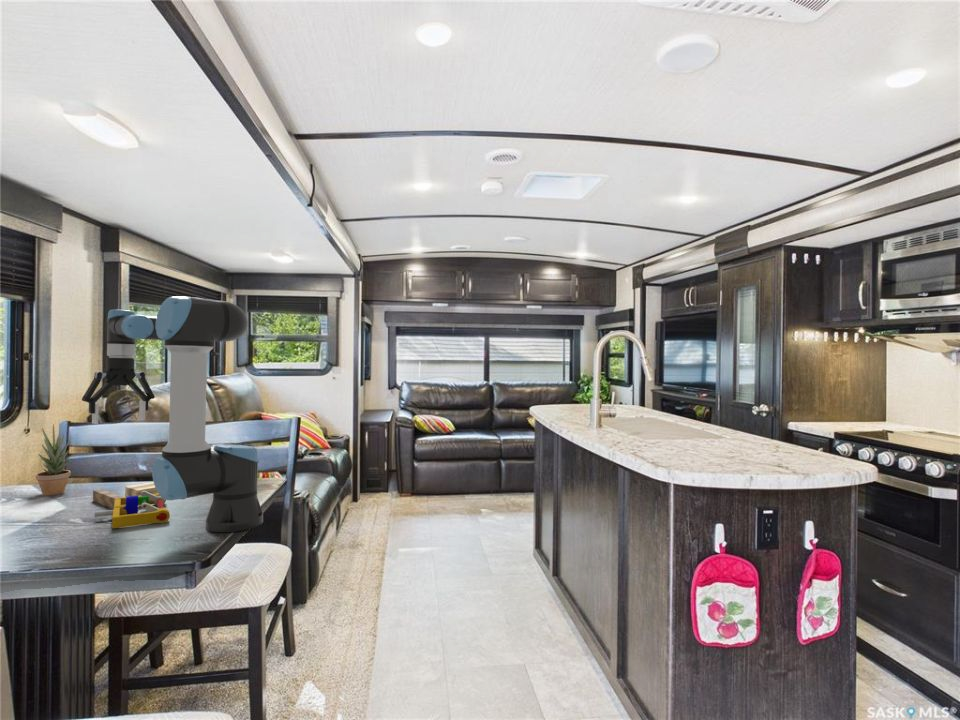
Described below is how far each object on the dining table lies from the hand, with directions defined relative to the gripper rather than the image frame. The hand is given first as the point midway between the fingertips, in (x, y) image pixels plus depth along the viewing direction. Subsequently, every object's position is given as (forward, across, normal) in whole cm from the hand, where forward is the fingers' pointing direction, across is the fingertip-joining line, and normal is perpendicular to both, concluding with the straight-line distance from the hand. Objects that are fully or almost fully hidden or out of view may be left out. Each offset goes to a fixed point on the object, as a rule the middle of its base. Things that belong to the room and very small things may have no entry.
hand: (119, 422), depth 170 cm
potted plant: (+27, +7, -33) cm, 44 cm away
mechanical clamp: (+27, +2, +16) cm, 32 cm away
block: (+27, -10, -4) cm, 29 cm away
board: (+27, +2, -2) cm, 27 cm away
